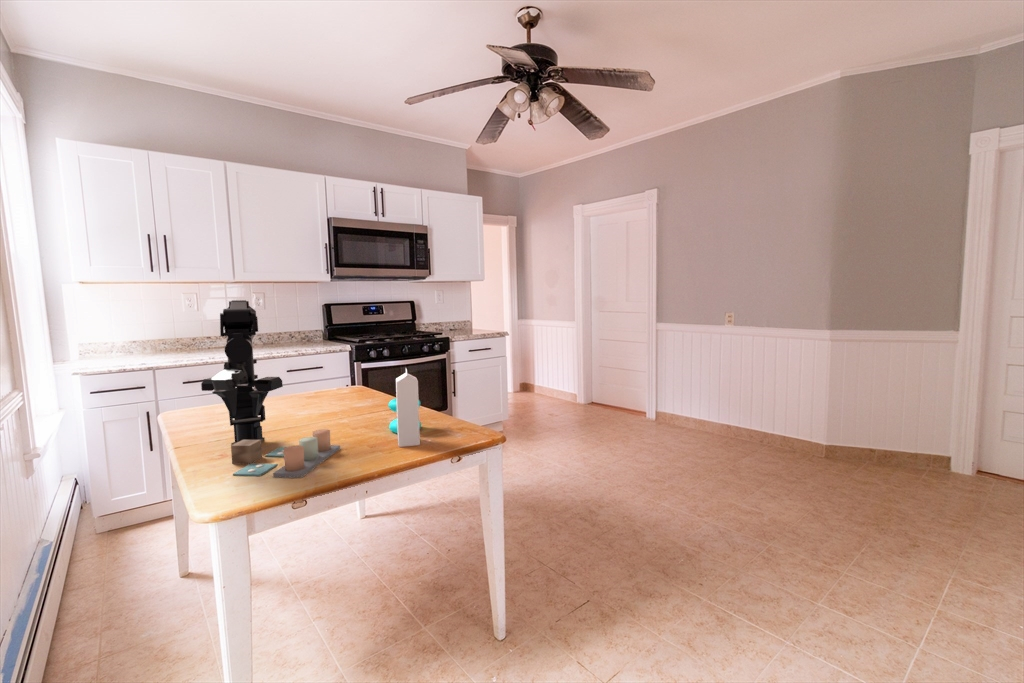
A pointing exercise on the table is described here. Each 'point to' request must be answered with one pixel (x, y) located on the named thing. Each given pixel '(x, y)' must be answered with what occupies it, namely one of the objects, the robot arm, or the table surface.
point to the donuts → (394, 423)
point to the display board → (307, 464)
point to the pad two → (255, 469)
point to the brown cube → (246, 451)
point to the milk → (407, 410)
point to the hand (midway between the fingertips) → (244, 416)
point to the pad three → (276, 452)
